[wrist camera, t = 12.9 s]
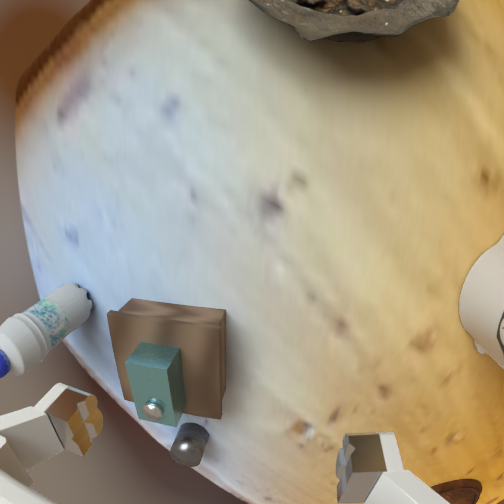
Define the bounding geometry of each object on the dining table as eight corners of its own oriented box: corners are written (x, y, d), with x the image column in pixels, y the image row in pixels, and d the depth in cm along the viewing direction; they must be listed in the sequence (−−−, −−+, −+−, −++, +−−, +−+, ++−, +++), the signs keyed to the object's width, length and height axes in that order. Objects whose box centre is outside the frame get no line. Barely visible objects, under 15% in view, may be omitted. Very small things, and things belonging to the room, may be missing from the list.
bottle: (67, 315, 44) (-17, 383, 25) (60, 275, 42) (-35, 335, 23) (100, 322, 44) (17, 402, 25) (94, 280, 42) (-3, 351, 23)
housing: (180, 347, 36) (164, 374, 31) (186, 403, 38) (174, 431, 33) (141, 341, 36) (121, 365, 31) (151, 396, 39) (136, 422, 34)
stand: (229, 306, 40) (218, 330, 34) (229, 391, 44) (220, 419, 38) (128, 294, 41) (106, 313, 36) (140, 376, 45) (124, 399, 40)
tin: (208, 425, 47) (199, 451, 41) (209, 443, 48) (201, 469, 42) (178, 420, 47) (167, 445, 42) (181, 438, 49) (171, 462, 43)
